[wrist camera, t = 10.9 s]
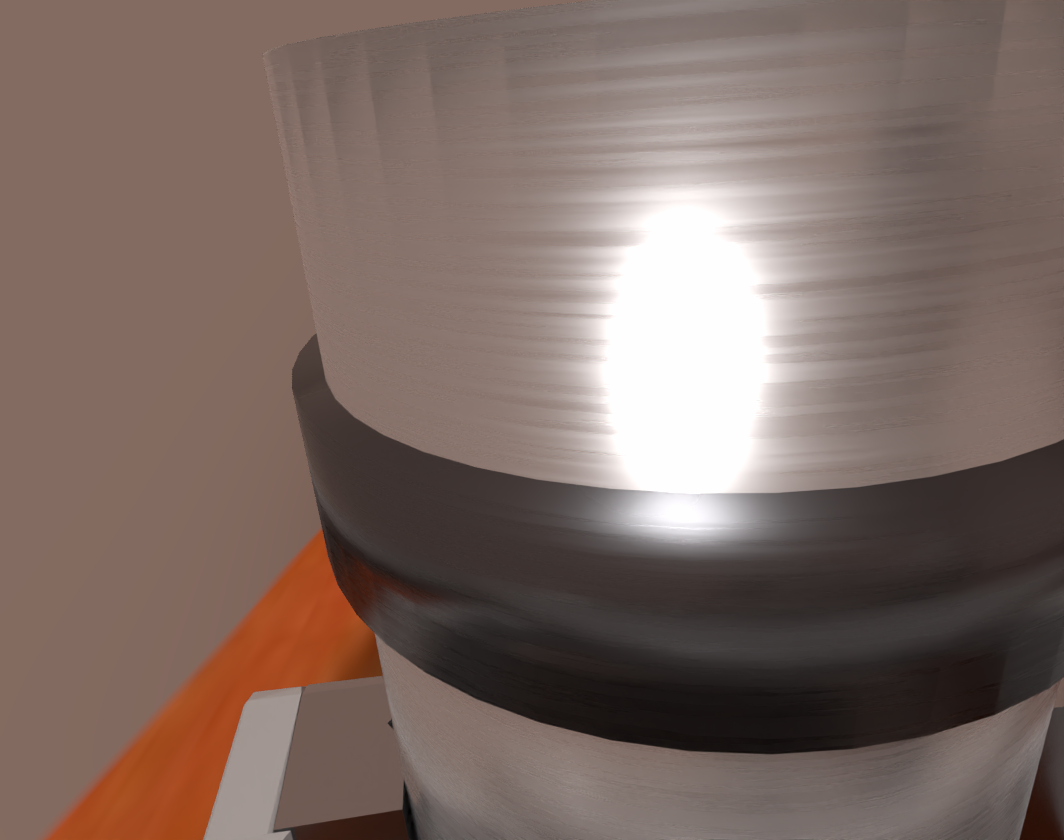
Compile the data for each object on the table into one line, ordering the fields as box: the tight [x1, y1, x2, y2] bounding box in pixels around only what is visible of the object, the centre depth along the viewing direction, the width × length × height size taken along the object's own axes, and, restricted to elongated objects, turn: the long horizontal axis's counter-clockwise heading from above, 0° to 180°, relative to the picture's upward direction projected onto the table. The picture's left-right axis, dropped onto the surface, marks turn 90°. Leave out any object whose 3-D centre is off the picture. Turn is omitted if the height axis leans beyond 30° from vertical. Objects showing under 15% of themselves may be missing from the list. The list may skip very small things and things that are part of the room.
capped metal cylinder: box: [262, 0, 1064, 840], centre depth 7 cm, size 5×5×14 cm
